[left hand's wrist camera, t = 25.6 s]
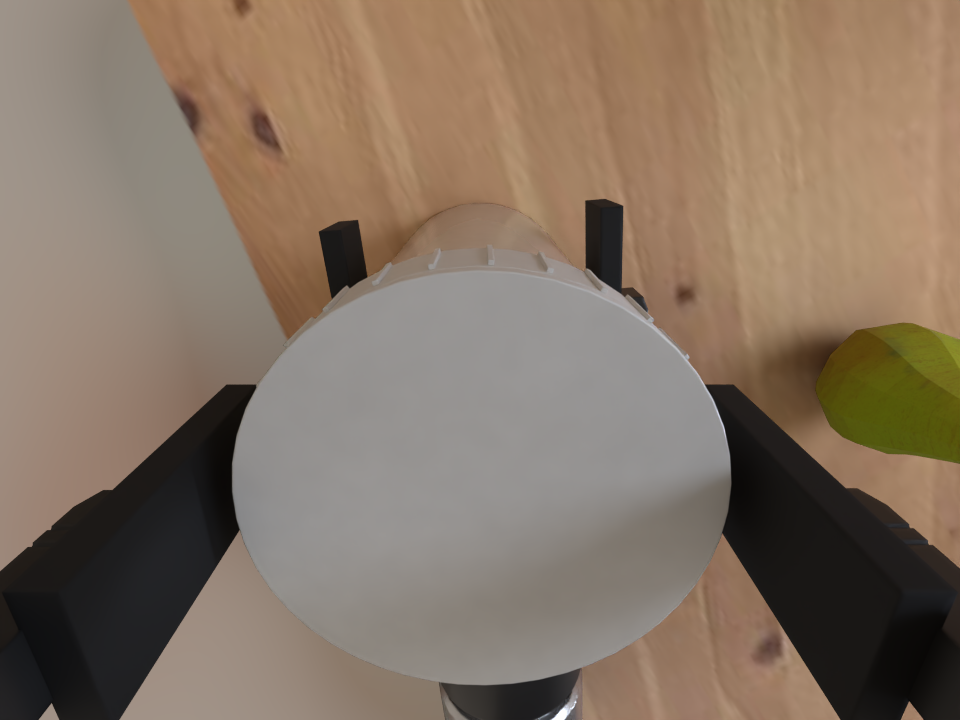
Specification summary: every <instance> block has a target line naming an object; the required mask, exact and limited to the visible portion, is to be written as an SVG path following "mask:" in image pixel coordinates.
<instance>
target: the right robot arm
mask: <svg viewBox="0 0 960 720" xmlns="http://www.w3.org/2000/svg"><path fill="white" fill-rule="evenodd" d="M585 212H586V268H587V269H589V270H591V271H592V272H593V274H594V275H595V276H596V277H597V278H598V279H599V280H601V281H602V282H604V283H605V284H607V285H608V286H610V287H611V288H613V289H614V290H616V291H617V292H619V293H620V294H622V295H623V296H624V297H626V296H627V295H629V296H630V297H631V298H632V299H633V300H635V301H636V302H637V303H638V304H639V305H640V306H641V307H642V308H643V309H644V310H645V311H646V312H647V313H648V308H647V306H646V303H645V301H644V298H643V296H642V295H640V294H639V293H638V292H637V291H636V290H635V289H634V288H622V241H623V206H622V205H619V204H617V203H614V202H612V201H609V200H607V199H599V200H587V201H585ZM319 235H320V241H321V246H322V251H323V256H324V261H325V266H326V271H327V276H328V282H329V287H330V292H331V297H332V299H333V298H334V297H335V296H336V295H337V294H338V293H339V292H340V291H341V290H342V289H343V288H344V287H345V286H348V287H349V288H351V287H353V286H354V285H355V284H357V283H358V282H360V281H362V280H364V279H366V278H367V272H366V266H365V260H364V253H363V247H362V241H361V235H360V229H359V223H358V220H353V221H341V222H337V223H335V224H333V225H331V226H329V227H327V228H325V229H323V230H321V231H319ZM439 686H440V692H441V698H442V704H443V710H444V715H445V720H582V670H581V668H579V669H576V670H573V671H570V672H567V673H564V674H560V675H556V676H552V677H548V678H544V679H540V680H533V681H527V682H520V683H513V684H498V685H463V684H451V683H443V682H439Z"/></svg>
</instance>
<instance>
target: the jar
mask: <svg viewBox="0 0 960 720" xmlns="http://www.w3.org/2000/svg"><path fill="white" fill-rule="evenodd" d="M487 245H492V247H493V249H509V250H515V251H520V252H526V253H531V254H537V255H538V252H539V251H540V252H543V253H544V254H545V256H546V257H547V258H550V259H554V260H557V261H560V262H563V263H566V264H569V265H571V266H573V265H572V263H571V262H570V261H569V260H568V259H567V257H566V256H565V255H564V254H563V252H562V251H561V250H560V249H559V247H558V246H557V245H556V244H555V242H554V241H553V240H552V239H551V238H550V236H549V235H548V234H547V233H546V232H545V231H544V230H543V229H542V228H541V227H540V226H539V225H538V224H537V223H536V222H534V221H533V220H532V219H531V218H529V217H527V216H526V215H524V214H522V213H521V212H518V211H516V210H513V209H511V208H508V207H505V206H501V205H497V204H489V203H472V204H465V205H460V206H456V207H453V208H450V209H448V210H445V211H443V212H441V213H439V214H437V215H436V216H434V217H432V218H431V219H429V220H428V221H427V222H426V223H424V224H423V225H422V226H421V227H420V228H419V229H418V230H417V231H416V232H415V233H414V234H413V235H412V236H411V238H410V239H409V240H408V242H407V243H406V244H405V245H404V247H403V248H402V249H401V250H400V252H399V253H398V254H397V255H396V257H395V258H394V259H393V260H392V262H391V264H392V265H395V264H398V263H400V262H403V261H406V260H409V259H411V258H414V257H418V256H423V255H427V254H432V253H433V252H434V250H435V249H437V248H440V250H441V251H446V250H458V249H469V248H487ZM573 267H574V266H573Z"/></svg>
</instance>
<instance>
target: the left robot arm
mask: <svg viewBox="0 0 960 720" xmlns="http://www.w3.org/2000/svg"><path fill="white" fill-rule="evenodd" d="M705 386H706V388H707V390H708V391H709V393H710V395H711V396H712V398H713V400H714V403H715V405H716V408H717V410H718V413H719V415H720V418H721V421H722V423H723V426H724V429H725V434H726V439H727V443H728V448H729V453H730V467H731V491H730V500H729V508H728V513H727V517H726V521H725V524H724V528H723V532H722V533H723V535H724V536H725V538H726V540H727V541H728V543H729V544H730V546H731V547H732V549H733V551H734V552H735V554H736V555H737V557H738V558H739V560H740V562H741V563H742V565H743V566H744V568H745V570H746V571H747V573H748V574H749V576H750V577H751V579H752V581H753V582H754V584H755V585H756V587H757V588H758V590H759V592H760V593H761V595H762V596H763V598H764V600H765V601H766V603H767V604H768V606H769V607H770V609H771V611H772V612H773V614H774V615H775V617H776V618H777V620H778V622H779V623H780V625H781V626H782V628H783V629H784V631H785V633H786V634H787V636H788V637H789V639H790V641H791V642H792V644H793V645H794V647H795V648H796V650H797V652H798V653H799V655H800V656H801V658H802V659H803V661H804V663H805V664H806V666H807V667H808V669H809V671H810V672H811V674H812V675H813V677H814V678H815V680H816V682H817V683H818V685H819V686H820V688H821V689H822V691H823V693H824V694H825V696H826V697H827V699H828V701H829V702H830V704H831V705H832V707H833V708H834V710H835V712H836V713H837V715H838V716H839V718H840V719H841V720H901V718H902V716H903V713H904V711H905V709H906V707H907V704H908V702H909V701H910V703H911V704H912V705H913V706H914V708H915V709H916V710H917V712H918V713H919V714H920V715H921V717H922V718H923V719H924V720H960V568H959V567H957V566H956V565H955V564H954V563H953V562H952V561H951V560H949V559H948V558H947V557H946V556H945V555H944V554H943V553H941V552H940V551H939V550H938V549H937V548H936V547H934V546H933V545H929V544H928V540H926V539H925V538H924V537H923V536H922V535H921V534H920V533H918V532H917V531H916V530H915V529H914V528H910V527H909V524H908V523H907V522H906V521H905V520H903V519H902V518H901V517H900V516H899V515H898V514H897V513H895V512H894V511H893V510H892V509H891V508H890V507H889V506H887V505H886V504H884V503H882V502H881V501H879V500H877V499H875V498H874V497H872V496H870V495H868V494H866V493H865V492H863V491H861V490H859V489H857V488H845V487H844V486H843V485H842V484H840V483H839V482H838V481H837V480H836V479H835V478H834V477H833V476H832V475H831V474H830V473H829V472H827V471H826V470H825V469H824V468H823V467H822V466H821V465H820V464H819V463H818V462H817V461H816V460H814V459H813V458H812V457H811V456H810V455H809V454H808V453H807V452H806V451H805V450H804V449H803V448H801V447H800V446H799V445H798V444H797V443H796V442H795V441H794V440H793V439H792V438H791V437H790V436H788V435H787V434H786V433H785V432H784V431H783V430H782V429H781V428H780V427H779V426H778V425H777V424H775V423H774V422H773V421H772V420H771V419H770V418H769V417H768V416H767V415H766V414H765V413H764V412H762V411H761V410H760V409H759V408H758V407H757V406H756V405H755V404H754V403H753V402H752V401H751V400H749V399H748V398H747V397H746V396H745V395H744V394H743V393H742V392H741V391H740V390H739V389H738V388H736V387H735V386H734V385H705ZM256 388H257V387H256V385H226V386H225V387H224V388H222V389H221V390H220V391H219V392H218V393H217V394H216V395H215V396H214V397H213V398H212V399H211V400H209V401H208V402H207V403H206V404H205V405H204V406H203V407H202V408H201V409H200V410H199V411H198V412H196V413H195V414H194V415H193V416H192V417H191V418H190V419H189V420H188V421H187V422H186V423H185V424H183V425H182V426H181V427H180V428H179V429H178V430H177V431H176V432H175V433H174V434H173V435H172V436H170V437H169V438H168V439H167V440H166V441H165V442H164V443H163V444H162V445H161V446H160V447H159V448H158V449H156V450H155V451H154V452H153V453H152V454H151V455H150V456H149V457H148V458H147V459H146V460H144V461H143V462H142V463H141V464H140V465H139V466H138V467H137V468H136V469H135V470H134V471H133V472H132V473H130V474H129V475H128V476H127V477H126V478H125V479H124V480H123V481H122V482H121V483H120V484H118V485H117V486H116V487H115V488H114V489H113V490H103V491H101V492H99V493H97V494H96V495H94V496H92V497H90V498H89V499H87V500H85V501H83V502H81V503H80V504H78V505H76V506H74V507H73V508H72V509H71V510H70V511H69V512H67V513H66V514H65V515H64V516H63V517H62V518H61V519H59V520H58V521H57V522H56V523H55V524H54V525H53V526H52V528H51V530H47V531H46V532H45V533H43V534H42V535H41V536H40V537H39V538H38V539H37V540H35V541H34V542H33V546H32V547H27V548H26V549H25V550H24V551H23V552H22V553H21V554H19V555H18V556H17V557H16V558H15V559H14V560H13V561H11V562H10V563H9V564H8V565H7V566H6V567H5V568H3V569H2V570H1V571H0V720H39V718H40V717H41V716H42V714H43V713H44V712H45V711H46V709H47V708H48V707H49V706H50V704H51V703H52V704H53V707H54V709H55V711H56V713H57V716H58V718H59V720H119V719H120V718H121V716H122V715H123V713H124V711H125V710H126V708H127V707H128V705H129V704H130V702H131V700H132V699H133V697H134V696H135V694H136V693H137V691H138V689H139V688H140V686H141V685H142V683H143V682H144V680H145V678H146V677H147V675H148V674H149V672H150V670H151V669H152V667H153V666H154V664H155V663H156V661H157V659H158V658H159V656H160V655H161V653H162V652H163V650H164V648H165V647H166V645H167V644H168V642H169V640H170V639H171V637H172V636H173V634H174V633H175V631H176V629H177V628H178V626H179V625H180V623H181V622H182V620H183V618H184V617H185V615H186V614H187V612H188V611H189V609H190V607H191V606H192V604H193V603H194V601H195V600H196V598H197V596H198V595H199V593H200V592H201V590H202V588H203V587H204V585H205V584H206V582H207V581H208V579H209V577H210V576H211V574H212V573H213V571H214V570H215V568H216V566H217V565H218V563H219V562H220V560H221V558H222V557H223V555H224V554H225V552H226V551H227V549H228V547H229V546H230V544H231V543H232V541H233V540H234V538H235V536H236V535H237V533H238V532H239V530H240V529H239V526H238V523H237V519H236V514H235V507H234V501H233V495H232V461H233V455H234V449H235V443H236V436H237V433H238V430H239V427H240V424H241V421H242V418H243V415H244V412H245V409H246V407H247V405H248V403H249V401H250V399H251V397H252V395H253V394H254V392H255V390H256Z"/></svg>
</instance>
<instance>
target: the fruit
mask: <svg viewBox="0 0 960 720" xmlns="http://www.w3.org/2000/svg"><path fill="white" fill-rule="evenodd" d="M815 391H816V393H817V396H818V399H819V401H820V404H821V406H822V408H823V411H824V413H825V416H826V418H827V420H828V422H829V424H830V426H831V427H832V428H833V429H834V430H835V431H836V432H838V433H839V434H840V435H841V436H842V437H844V438H846V439H848V440H850V441H853V442H855V443H857V444H860V445H863V446H866V447H869V448H872V449H875V450H878V451H881V452H884V453H887V454H907V455H916V456H922V457H927V458H932V459H938V460H943V461H949V462H954V463H959V464H960V340H959V339H956V338H954V337H951V336H948V335H945V334H942V333H939V332H936V331H933V330H930V329H927V328H924V327H922V326H919V325H916V324H913V323H898V324H892V325H886V326H879V327H873V328H867V329H861V330H856V331H855V332H854V333H853V334H852V335H851V336H850V337H849V338H848V339H846V340H845V341H844V342H843V343H842V344H841V345H840V346H839V347H838V348H837V349H836V350H835V351H834V352H833V353H832V354H831V355H830V356H829V358H828V360H827V362H826V364H825V366H824V368H823V370H822V372H821V374H820V375H819V377H818V379H817V381H816V389H815Z"/></svg>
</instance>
